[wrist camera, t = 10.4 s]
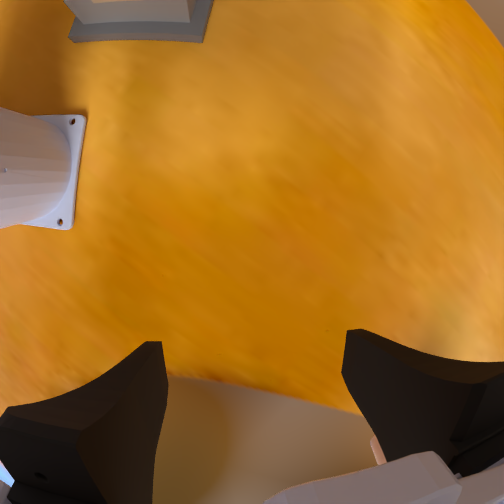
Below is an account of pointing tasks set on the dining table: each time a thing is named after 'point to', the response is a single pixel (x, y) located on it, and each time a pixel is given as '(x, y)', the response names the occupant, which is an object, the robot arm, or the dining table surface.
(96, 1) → the frame bar
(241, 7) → the dining table surface
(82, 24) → the grey fixture base
